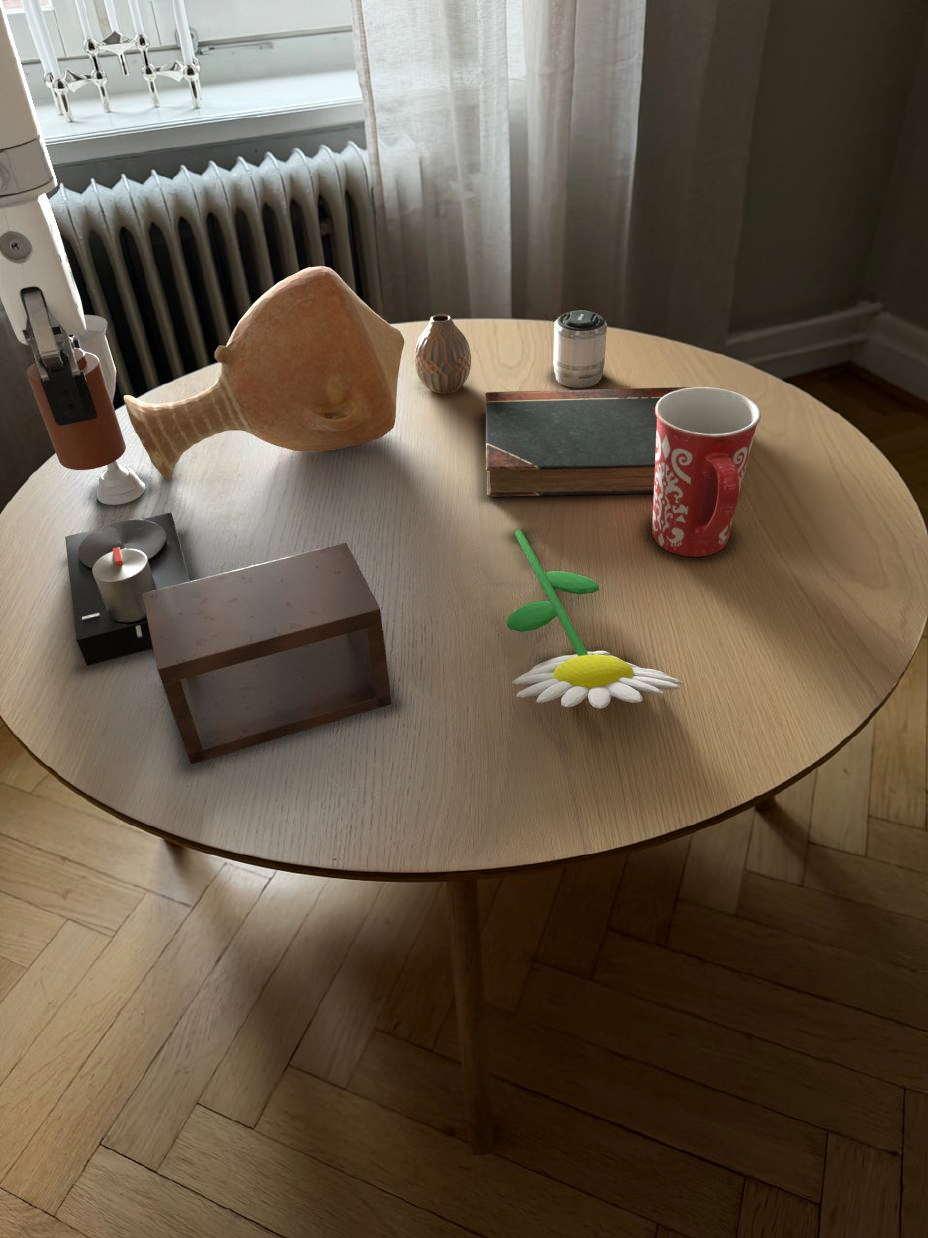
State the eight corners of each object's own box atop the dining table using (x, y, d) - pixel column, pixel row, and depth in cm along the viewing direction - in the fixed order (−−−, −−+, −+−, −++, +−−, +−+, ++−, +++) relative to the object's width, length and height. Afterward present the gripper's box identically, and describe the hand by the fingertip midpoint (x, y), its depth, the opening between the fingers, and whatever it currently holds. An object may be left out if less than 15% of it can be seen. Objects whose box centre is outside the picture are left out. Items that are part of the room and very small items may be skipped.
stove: (88, 680, 77) (76, 652, 75) (74, 561, 89) (64, 534, 87) (208, 647, 79) (200, 619, 77) (178, 536, 92) (171, 510, 90)
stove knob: (164, 614, 78) (149, 569, 75) (110, 628, 77) (93, 583, 74) (156, 584, 81) (142, 540, 78) (105, 598, 80) (88, 553, 77)
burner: (81, 581, 82) (80, 579, 82) (75, 533, 88) (74, 531, 87) (172, 559, 84) (171, 556, 84) (161, 514, 90) (160, 511, 89)
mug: (633, 510, 93) (646, 387, 84) (723, 506, 93) (745, 383, 84) (658, 590, 83) (676, 460, 74) (758, 585, 83) (787, 455, 74)
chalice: (137, 466, 102) (88, 308, 90) (167, 490, 98) (120, 328, 87) (75, 492, 99) (16, 331, 87) (103, 518, 95) (45, 353, 83)
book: (486, 498, 95) (729, 493, 94) (485, 468, 93) (735, 462, 92) (485, 416, 108) (699, 411, 108) (485, 388, 106) (703, 382, 105)
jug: (445, 376, 90) (145, 477, 85) (430, 452, 109) (183, 539, 103) (369, 206, 93) (76, 292, 88) (367, 308, 112) (124, 384, 106)
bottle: (60, 476, 77) (18, 364, 70) (57, 444, 81) (16, 335, 74) (129, 461, 78) (94, 350, 72) (122, 431, 82) (88, 323, 75)
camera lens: (606, 368, 117) (610, 307, 112) (599, 391, 112) (604, 329, 107) (557, 364, 118) (559, 304, 113) (548, 387, 113) (550, 325, 108)
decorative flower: (455, 565, 90) (531, 768, 66) (454, 521, 88) (534, 715, 63) (579, 553, 92) (699, 746, 68) (583, 509, 90) (709, 693, 65)
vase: (483, 384, 114) (482, 315, 109) (445, 404, 111) (441, 335, 105) (443, 368, 118) (440, 301, 112) (405, 387, 114) (399, 319, 109)
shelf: (190, 765, 69) (157, 669, 63) (173, 687, 76) (141, 593, 69) (392, 704, 73) (380, 608, 67) (360, 635, 80) (346, 541, 73)
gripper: (56, 194, 59) (132, 442, 71) (45, 133, 71) (111, 353, 83) (-69, 212, 57) (30, 463, 69) (-59, 146, 69) (24, 369, 81)
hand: (74, 401), depth 76 cm, fingers closed on bottle, 5 cm apart
